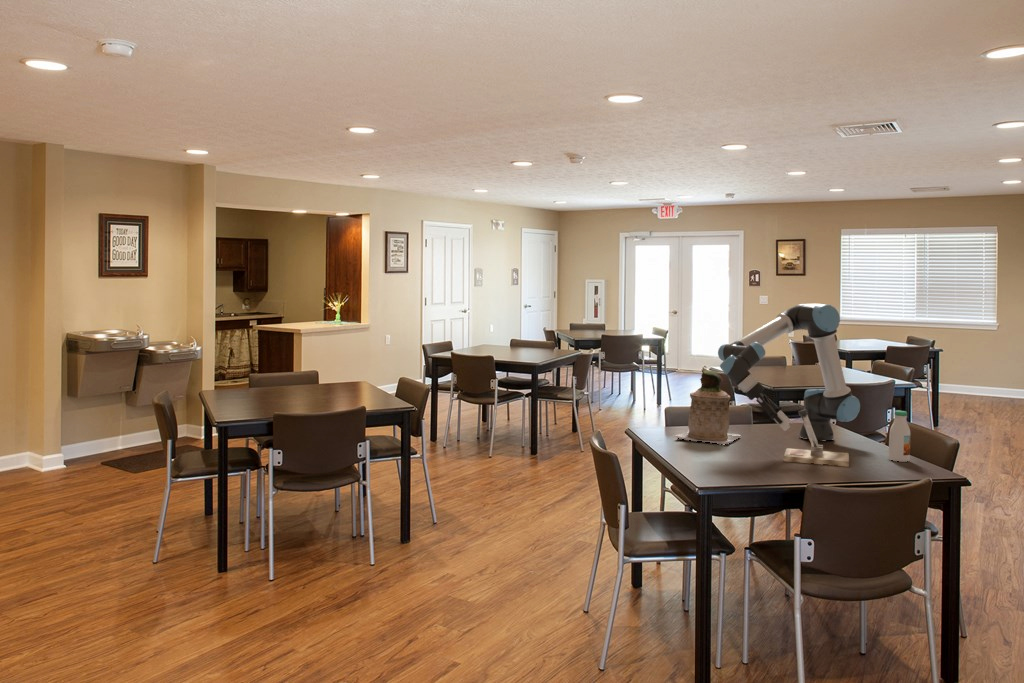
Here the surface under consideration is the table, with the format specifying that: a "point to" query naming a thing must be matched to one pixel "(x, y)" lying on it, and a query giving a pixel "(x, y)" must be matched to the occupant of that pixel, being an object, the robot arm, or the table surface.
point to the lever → (808, 428)
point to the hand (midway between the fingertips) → (788, 426)
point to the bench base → (816, 456)
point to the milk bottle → (899, 438)
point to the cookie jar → (709, 412)
